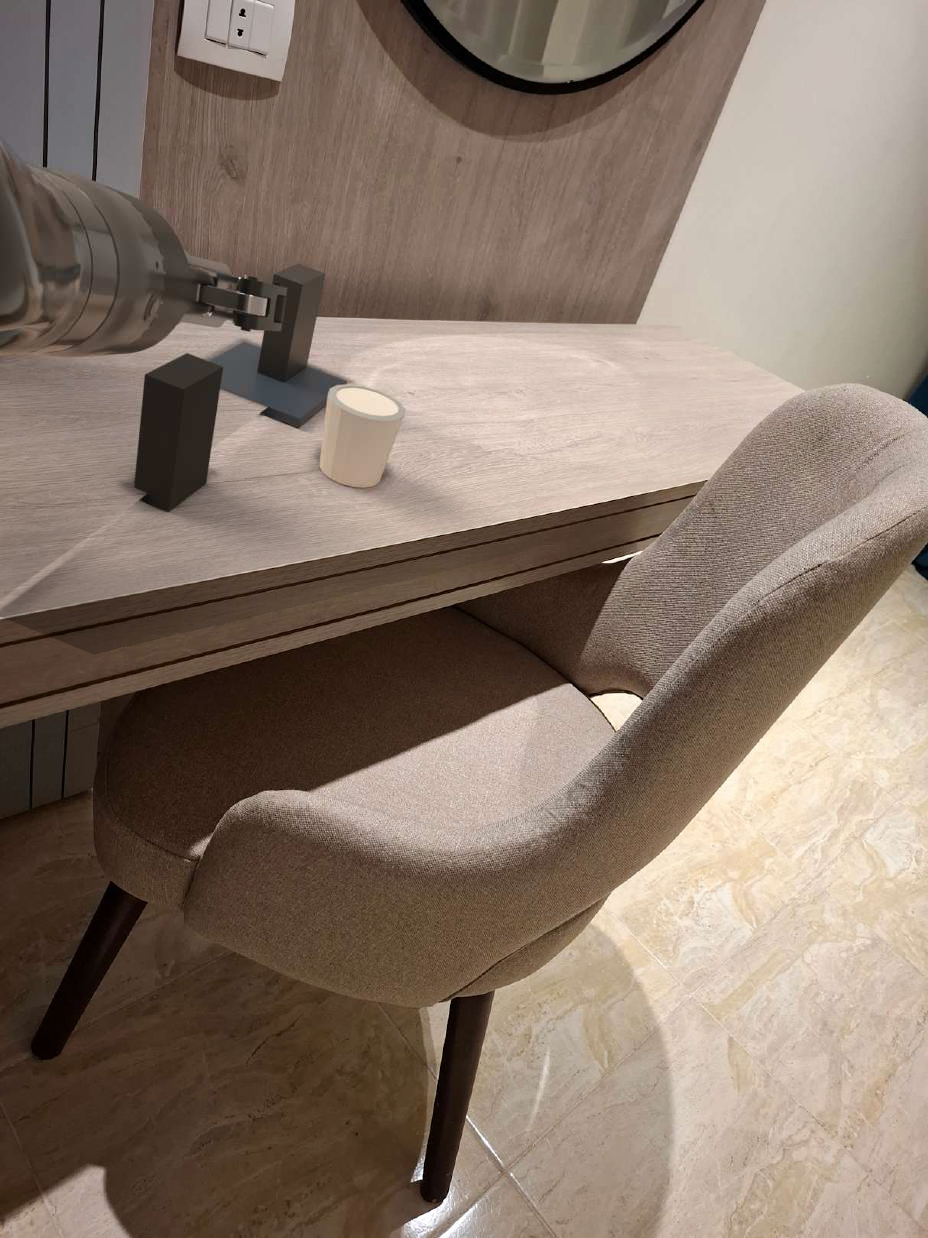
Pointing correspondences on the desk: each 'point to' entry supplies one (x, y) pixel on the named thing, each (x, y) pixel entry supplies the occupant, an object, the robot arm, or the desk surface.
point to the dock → (274, 391)
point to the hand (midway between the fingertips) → (186, 285)
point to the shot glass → (358, 434)
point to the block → (176, 429)
